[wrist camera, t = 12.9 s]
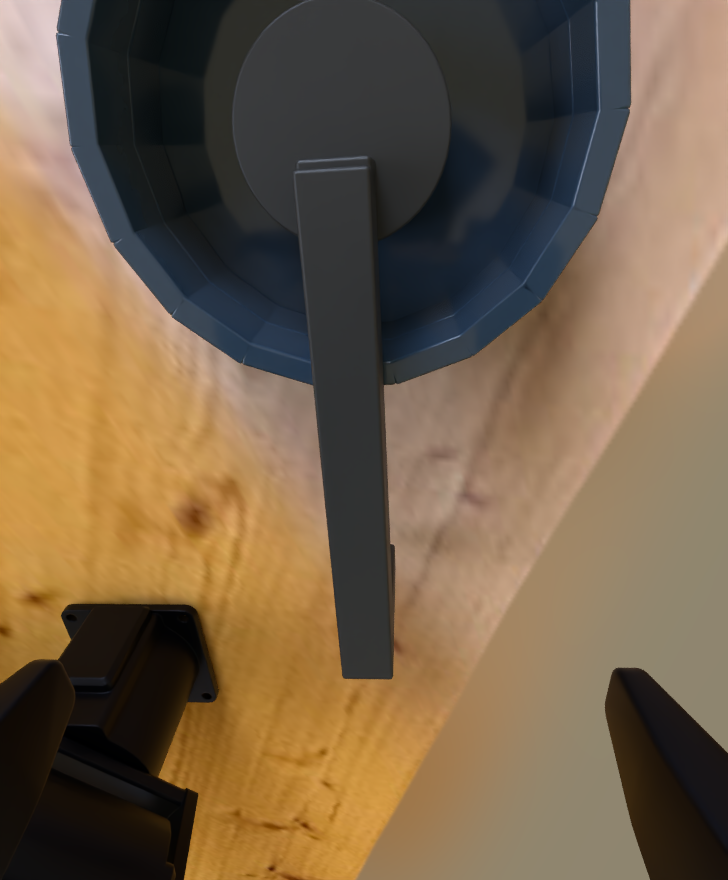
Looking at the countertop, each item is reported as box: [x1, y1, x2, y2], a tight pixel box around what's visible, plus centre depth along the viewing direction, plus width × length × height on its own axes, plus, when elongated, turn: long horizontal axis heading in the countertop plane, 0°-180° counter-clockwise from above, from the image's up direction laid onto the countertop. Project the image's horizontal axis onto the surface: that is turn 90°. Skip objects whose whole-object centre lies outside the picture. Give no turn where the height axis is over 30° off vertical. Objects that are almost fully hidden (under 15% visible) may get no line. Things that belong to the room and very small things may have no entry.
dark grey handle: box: [232, 0, 452, 679], centre depth 16 cm, size 18×5×6 cm, turn 3°
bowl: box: [56, 0, 631, 385], centre depth 14 cm, size 12×13×4 cm
